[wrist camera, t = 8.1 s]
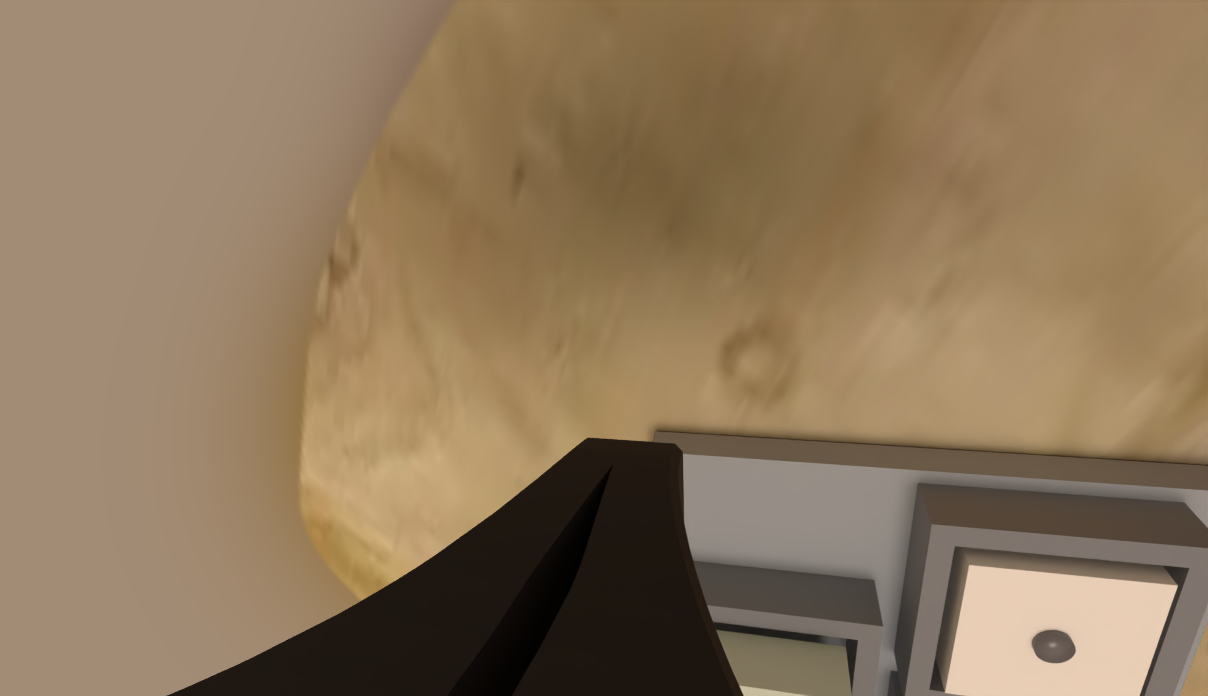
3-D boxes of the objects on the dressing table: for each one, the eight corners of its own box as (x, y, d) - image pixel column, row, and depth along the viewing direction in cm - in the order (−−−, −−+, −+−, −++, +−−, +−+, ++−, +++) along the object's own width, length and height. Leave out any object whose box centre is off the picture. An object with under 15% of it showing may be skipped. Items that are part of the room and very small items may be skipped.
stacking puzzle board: (1226, 466, 17) (1309, 541, 15) (1103, 814, 23) (1147, 915, 20) (655, 431, 21) (638, 486, 18) (667, 740, 26) (655, 818, 24)
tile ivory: (1139, 535, 17) (1182, 591, 15) (1100, 662, 19) (1134, 725, 17) (952, 519, 18) (971, 570, 16) (931, 641, 20) (946, 699, 18)
